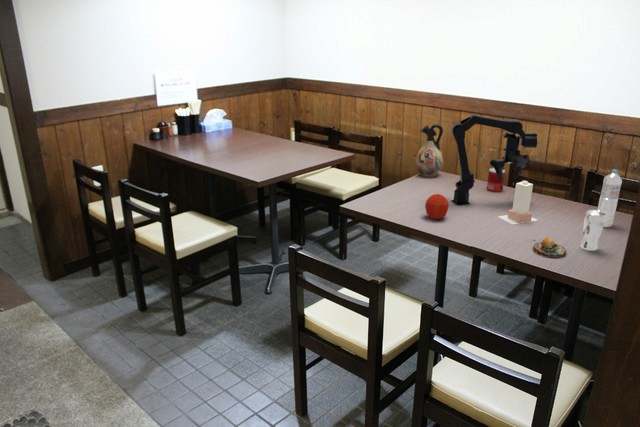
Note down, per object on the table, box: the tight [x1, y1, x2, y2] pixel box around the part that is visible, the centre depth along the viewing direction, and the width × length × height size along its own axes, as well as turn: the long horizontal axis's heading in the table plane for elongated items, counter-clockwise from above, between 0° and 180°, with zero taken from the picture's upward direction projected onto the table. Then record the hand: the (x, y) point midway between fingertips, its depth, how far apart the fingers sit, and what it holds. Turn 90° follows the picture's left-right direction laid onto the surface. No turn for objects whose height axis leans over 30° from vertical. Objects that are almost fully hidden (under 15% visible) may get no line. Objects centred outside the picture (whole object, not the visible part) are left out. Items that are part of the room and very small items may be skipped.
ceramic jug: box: [414, 123, 444, 178], centre depth 289 cm, size 17×15×30 cm
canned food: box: [486, 167, 506, 193], centre depth 267 cm, size 8×8×11 cm
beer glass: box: [579, 209, 606, 252], centre depth 200 cm, size 7×7×15 cm
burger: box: [532, 237, 567, 259], centre depth 199 cm, size 12×12×8 cm
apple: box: [424, 193, 450, 220], centre depth 231 cm, size 10×10×12 cm
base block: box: [507, 209, 533, 224], centre depth 227 cm, size 7×7×4 cm
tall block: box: [511, 180, 534, 215], centre depth 224 cm, size 5×5×14 cm
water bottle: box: [597, 169, 623, 229], centre depth 220 cm, size 7×7×25 cm
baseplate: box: [497, 214, 538, 225], centre depth 229 cm, size 14×10×1 cm
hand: (507, 179), depth 244 cm, fingers open, 9 cm apart
